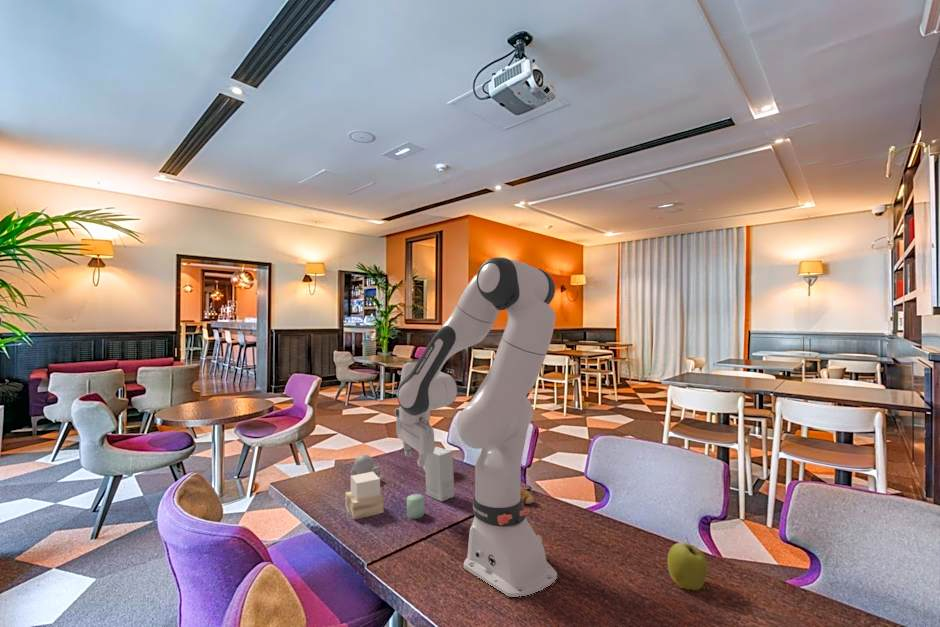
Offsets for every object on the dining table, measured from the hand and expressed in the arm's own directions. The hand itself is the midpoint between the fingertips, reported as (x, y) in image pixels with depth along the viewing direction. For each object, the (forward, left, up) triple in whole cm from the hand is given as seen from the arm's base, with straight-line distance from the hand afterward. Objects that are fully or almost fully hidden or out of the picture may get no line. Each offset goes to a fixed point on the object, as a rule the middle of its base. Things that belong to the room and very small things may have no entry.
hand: (414, 461), depth 124 cm
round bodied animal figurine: (+33, +4, -16) cm, 37 cm away
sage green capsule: (0, 0, -16) cm, 16 cm away
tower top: (+11, +11, -11) cm, 19 cm away
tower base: (+10, +12, -16) cm, 22 cm away
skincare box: (+8, -12, -16) cm, 21 cm away
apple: (-61, -37, -16) cm, 73 cm away
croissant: (-4, -29, -16) cm, 34 cm away
